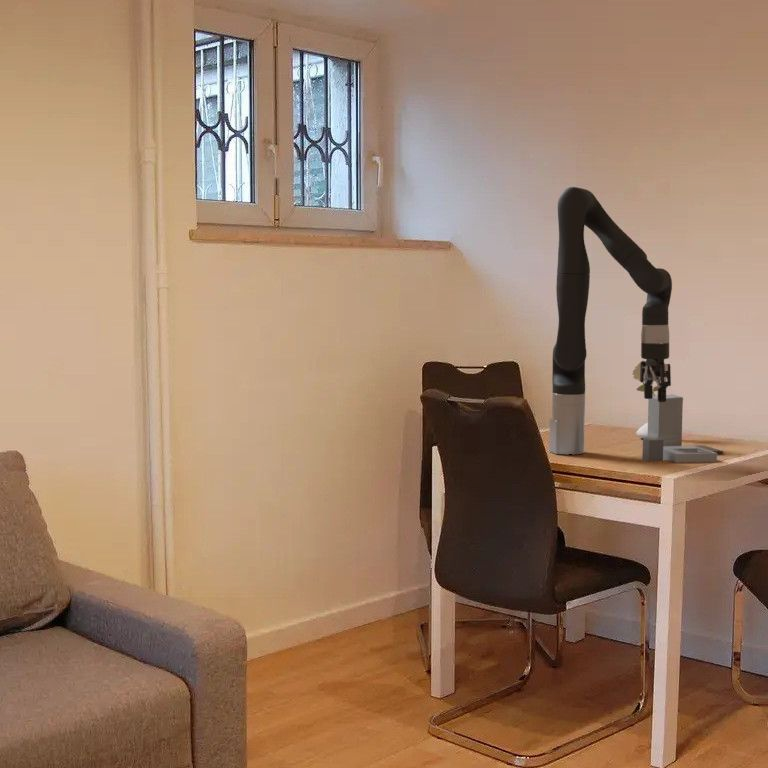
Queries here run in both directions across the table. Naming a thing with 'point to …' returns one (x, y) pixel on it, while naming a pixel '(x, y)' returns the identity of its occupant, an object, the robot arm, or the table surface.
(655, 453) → the block
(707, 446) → the phone
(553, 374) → the robot arm
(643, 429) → the flower in vase
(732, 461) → the table surface
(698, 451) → the outlet plate
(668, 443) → the skincare box
